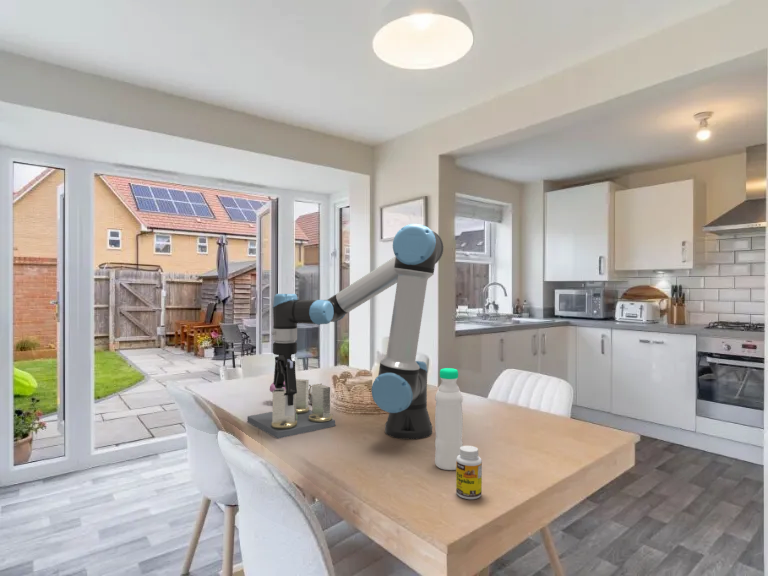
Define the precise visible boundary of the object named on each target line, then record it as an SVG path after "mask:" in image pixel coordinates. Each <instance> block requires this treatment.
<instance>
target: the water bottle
mask: <svg viewBox="0 0 768 576" xmlns="http://www.w3.org/2000/svg"><path fill="white" fill-rule="evenodd" d="M439 378H440V381H441V383H440V384H439V386H438V389H437V391H436V393H435V398H434V400H435V410H434V411H435V412H434V413H435V414H434V417H435V418H434V425H435V430H434V432H435V438H434V439H435V441H434V447H435V453H434V454H435V455H434V465H436V467H437V468H439V469H441V470H445V471H456V458H457V456H458V455H460V447H462V446H463V439H462V438H463V404H462V403H463V400H464V398H463V394H462V392H461V390H460V387H459V385H458V384H457V380H458V379H459V370H458V369H456V368H452V367H444V368H441V369H440V370H439Z"/></svg>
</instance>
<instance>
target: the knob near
mask: <svg viewBox="0 0 768 576" xmlns="http://www.w3.org/2000/svg"><path fill="white" fill-rule="evenodd" d="M284 393H286V390H274V391H273V393H272V412H273V417H272V423H271V426H272V427H273V428H276V429H288V428H292V427H295V426H297V420H296V394H294V415H292V416H285V396H284Z"/></svg>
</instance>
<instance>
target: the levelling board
mask: <svg viewBox="0 0 768 576" xmlns="http://www.w3.org/2000/svg"><path fill="white" fill-rule="evenodd" d="M311 414H312V409H309V411H308V412H305V413H300V414H296V420H297V426H295V427H292V428H288V429H276V428H273V427H272V426H271V423H272V417H273V411H269V412H262V413H257V414H252V415H247V416H246V417H247V418H246V419H247V422H246V423H249V424H251V425H252V426H254V427H256V428H257V429H259V430H261V431H263V432H265V433H267V434H269V435H270V436H272V437H274V438H275V439H277V440H278V439H283V438H286V437H291V436H297V435H301V434H305V433H310V432H315V431H319V430H323V429H328V428H333V427H336V419H334V418H333V419H332V420H330V421H326V422H313V421H310V420H309V415H311Z"/></svg>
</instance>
